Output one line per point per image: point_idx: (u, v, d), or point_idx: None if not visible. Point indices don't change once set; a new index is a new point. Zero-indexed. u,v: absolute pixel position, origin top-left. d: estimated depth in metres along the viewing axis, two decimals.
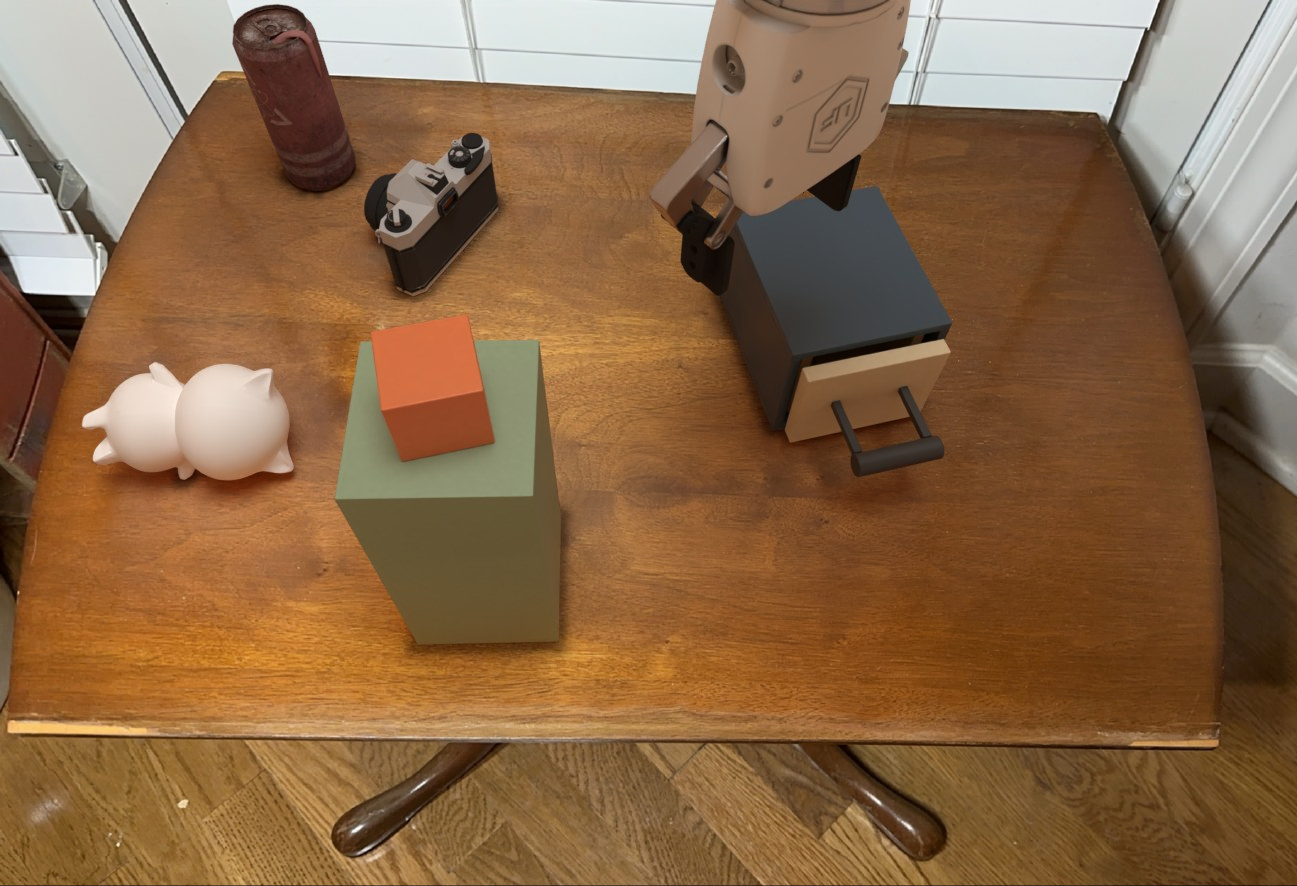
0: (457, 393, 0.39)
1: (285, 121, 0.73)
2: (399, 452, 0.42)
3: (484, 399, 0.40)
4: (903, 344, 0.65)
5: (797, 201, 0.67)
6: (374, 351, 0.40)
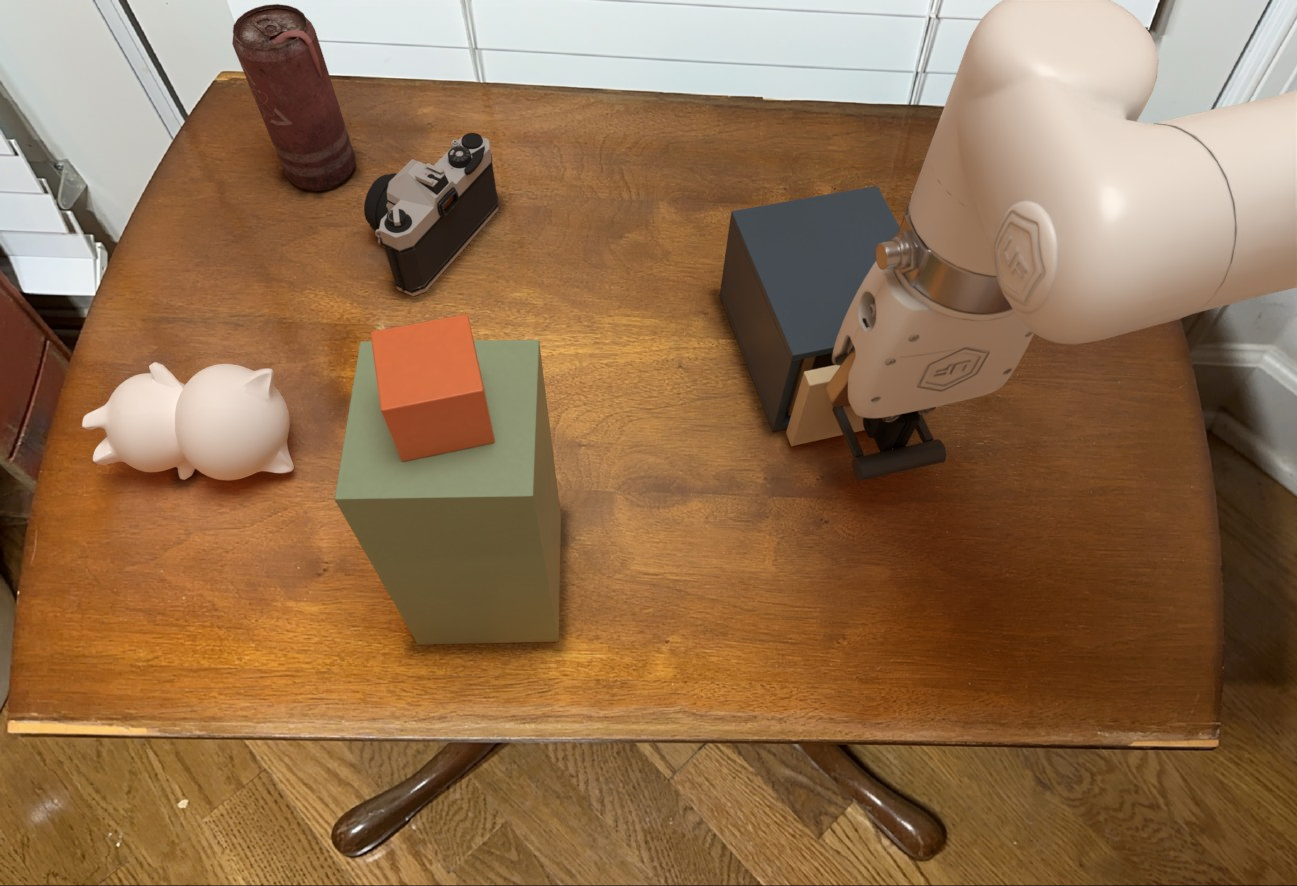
0: (457, 393, 0.39)
1: (285, 121, 0.73)
2: (399, 452, 0.42)
3: (484, 399, 0.40)
4: None
5: (797, 201, 0.67)
6: (374, 351, 0.40)
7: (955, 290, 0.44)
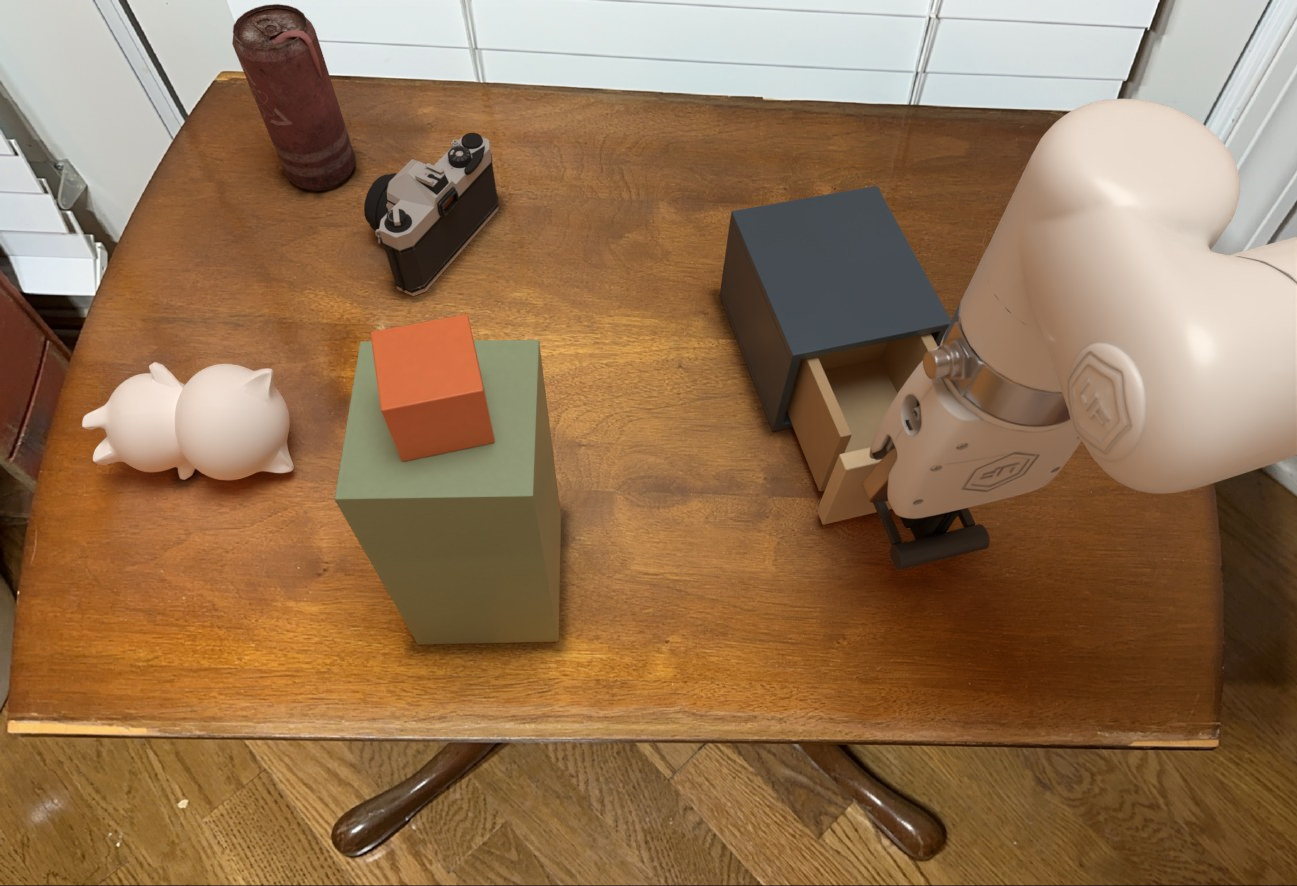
0: (457, 393, 0.39)
1: (285, 121, 0.73)
2: (399, 452, 0.42)
3: (484, 399, 0.40)
4: None
5: (797, 201, 0.67)
6: (374, 351, 0.40)
7: (1009, 403, 0.42)
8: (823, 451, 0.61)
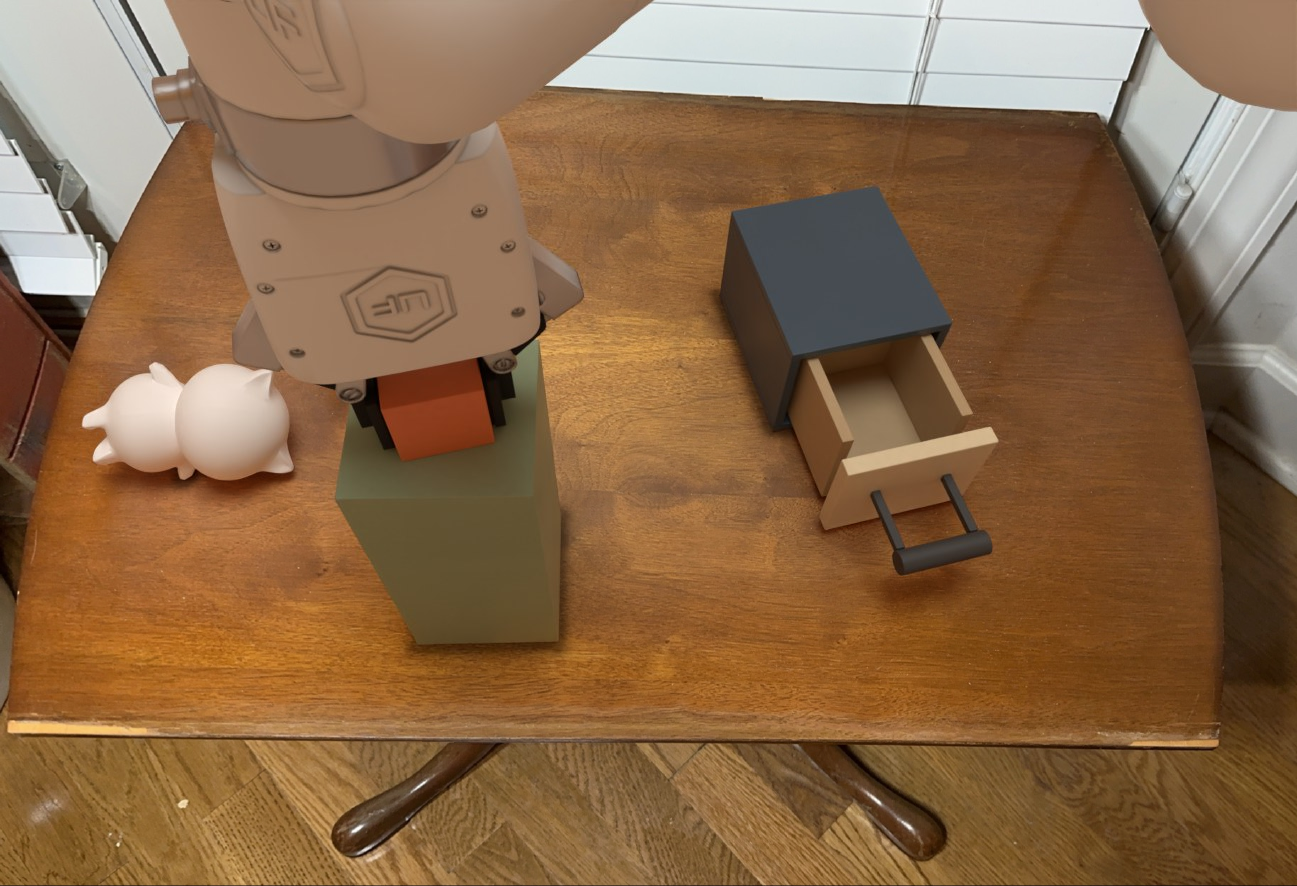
0: (457, 393, 0.39)
1: None
2: (399, 452, 0.42)
3: (484, 399, 0.40)
4: (945, 427, 0.61)
5: (797, 201, 0.67)
6: None
7: (262, 152, 0.26)
8: (825, 456, 0.61)
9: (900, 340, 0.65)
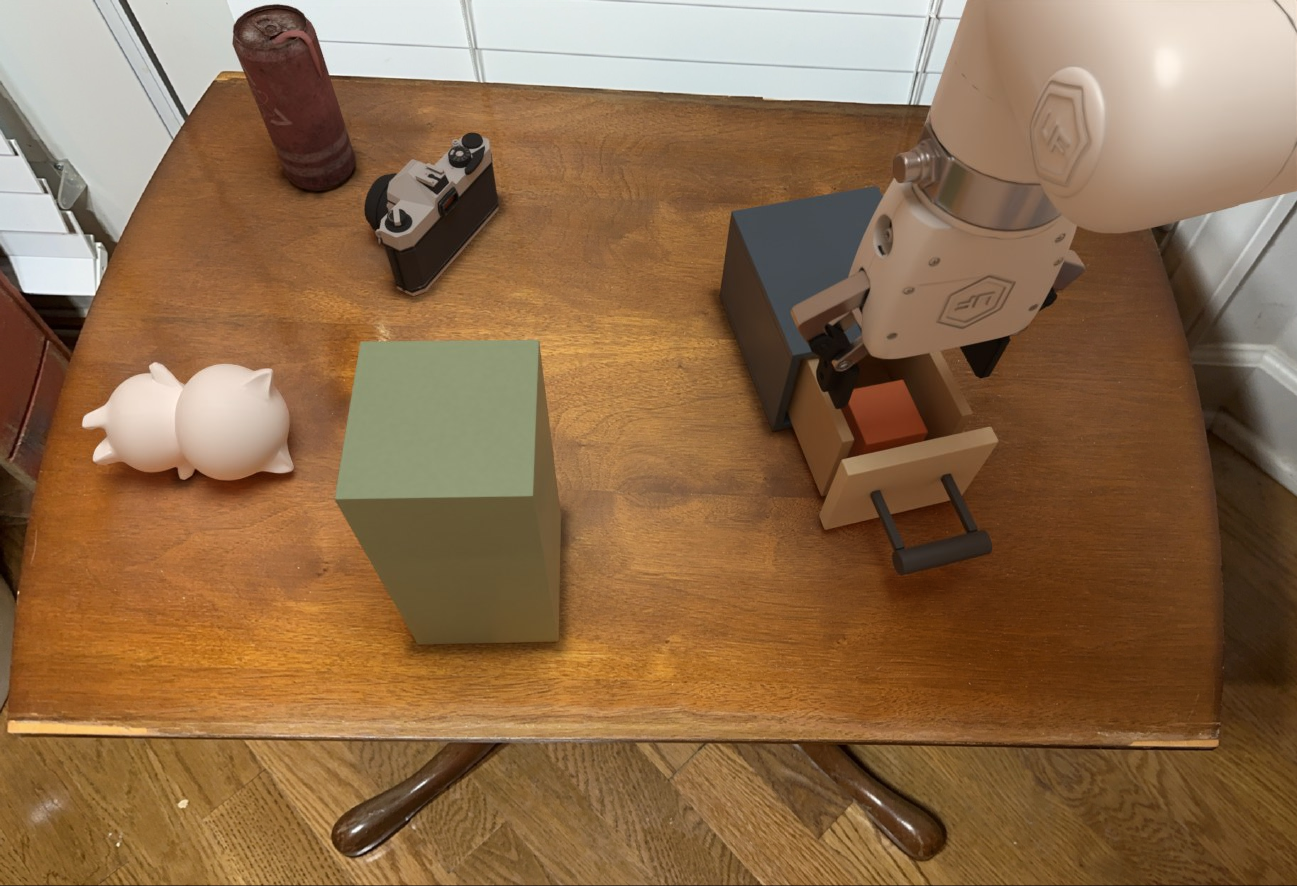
0: (912, 433, 0.60)
1: (285, 121, 0.73)
2: None
3: (924, 437, 0.61)
4: (945, 427, 0.61)
5: (797, 201, 0.67)
6: (850, 404, 0.62)
7: (980, 203, 0.41)
8: (825, 456, 0.61)
9: None
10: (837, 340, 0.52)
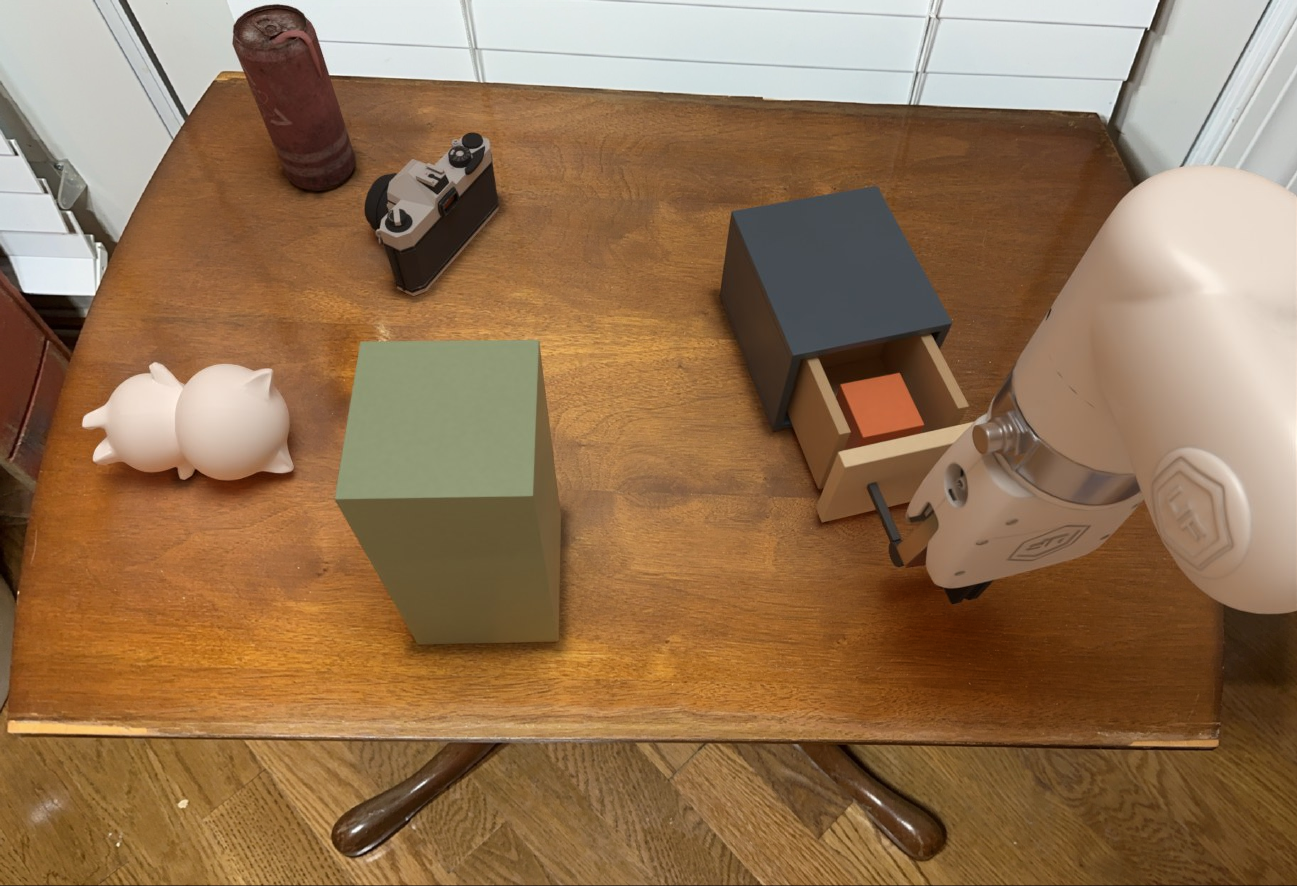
0: (908, 426, 0.61)
1: (285, 121, 0.73)
2: None
3: None
4: (942, 420, 0.62)
5: (797, 201, 0.67)
6: (847, 397, 0.62)
7: (1067, 482, 0.39)
8: (822, 448, 0.61)
9: None
10: None
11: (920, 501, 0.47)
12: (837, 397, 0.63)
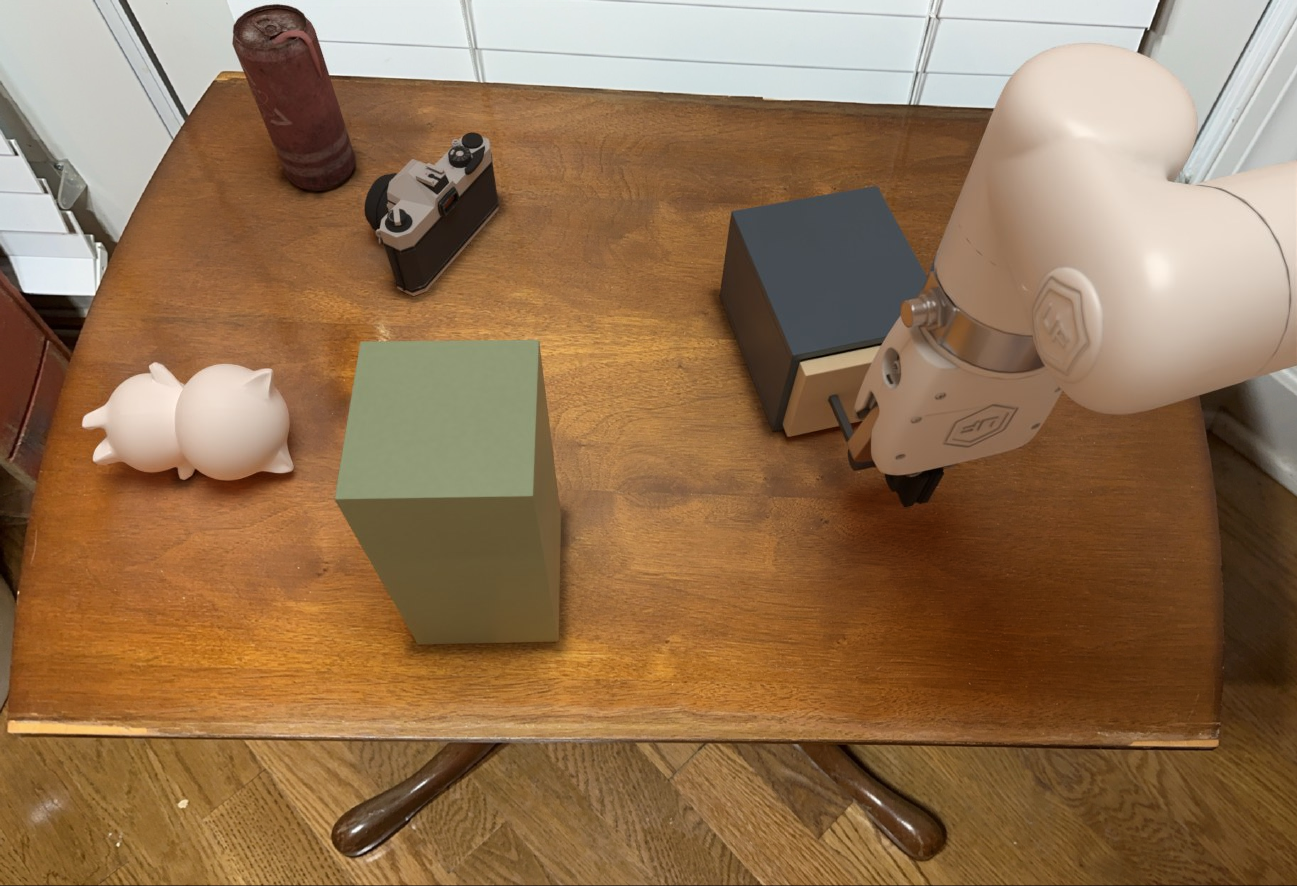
0: None
1: (285, 121, 0.73)
2: None
3: None
4: None
5: (797, 201, 0.67)
6: None
7: (984, 349, 0.43)
8: None
9: None
10: None
11: (864, 393, 0.51)
12: None
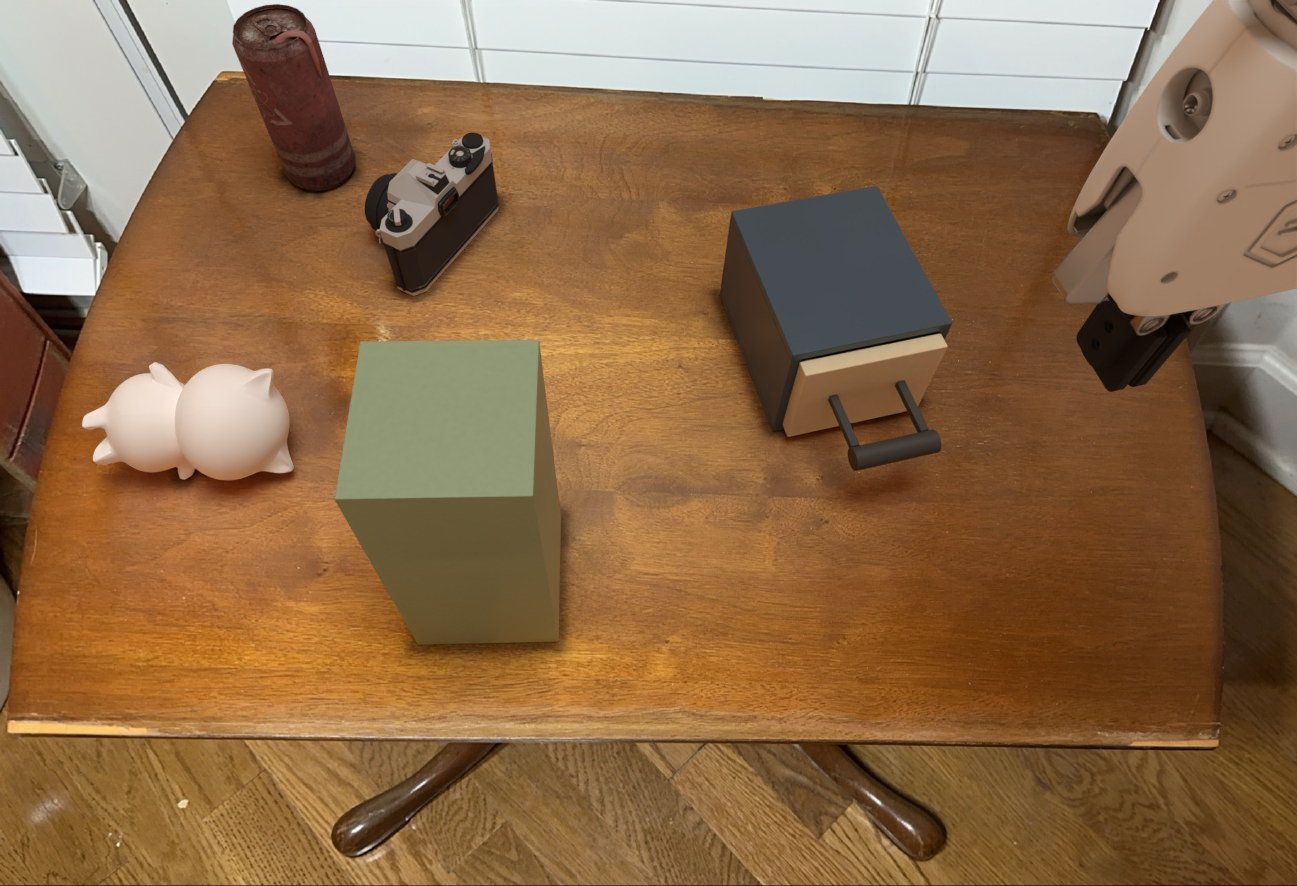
0: None
1: (285, 121, 0.73)
2: None
3: None
4: (900, 339, 0.65)
5: (797, 201, 0.67)
6: None
7: None
8: None
9: None
10: None
11: (1103, 175, 0.31)
12: None
